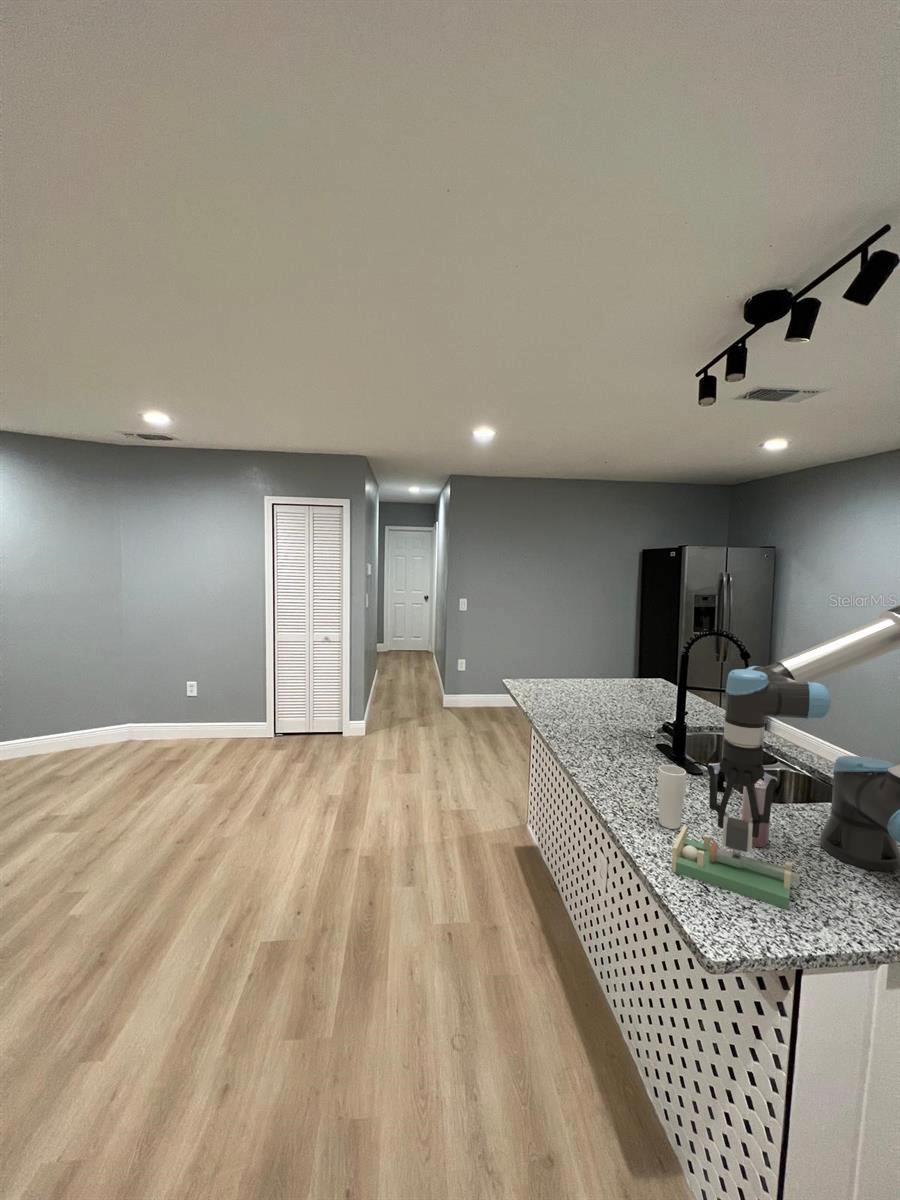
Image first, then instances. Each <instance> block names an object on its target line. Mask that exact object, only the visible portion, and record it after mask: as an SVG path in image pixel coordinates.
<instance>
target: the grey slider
mask: <svg viewBox="0 0 900 1200" xmlns="http://www.w3.org/2000/svg"><path fill="white" fill-rule="evenodd" d="M748 825H749V822H747V821H743V820H742V819H738V818H735V817H730V816H729V819H728V823H727V831H726V846H725V847H727V848H730V849H732V851H730V850H729V851H728V850H725V849H722V848H720V849H719V848H718V847H719V846H718V845H719V842H718V841H714V840H713V841H712V842H711V844H710V846H711V848H710V856H709V861H711V862H715V861H719V862H722V863H725V864H728V865H732V866H735V867H738V868H741V866H742V867H745V868H748V869H751V870H755V871H758V872H761V873H765V874H768V875H771V876H774V877H778V878H781V879H784V874H785V870H784V869H780V868H777V867H774V866H770V865H767V864H763V863H760V862H757V861H753V860H750V859H747V858H743V857H742V855H743V854H742V852H743V853H748V852H747V842H748ZM790 883H793V884H800V873H797V872H794V871H791V882H790Z"/></svg>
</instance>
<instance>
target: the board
mask: <svg viewBox="0 0 900 1200" xmlns="http://www.w3.org/2000/svg"><path fill="white" fill-rule="evenodd" d="M687 835H688V826H687V825H683V826H682V828H681V830H680V832H679V834H678V836H677V838H676V840H675V842H674V844H673V846H672V855H671V872H673V873H675V874H680V875H682V876H686V877H688V878H692V879H695V880H698V881H700V882H703V883H706V884H709V885H712V886H715V887H717V888H721V889H725V890H727V891H731V892H734V893H737V894H739V895H743V896H745V897H749V898H751V899H753V900H754V899H755V900H757V901H759V902H760V901H761V902H763V903H767V904H769V905H773V906H775V907H778V908H780V909H781V908H782V909H785V910H788V911H789V909H790V908H789V907H790V906H789V905H790V895H791V883H792V882H791V872H792V865H793V863H792V862H789V861H785V865H784V866H785V867H784V866H780V865H776V864H773V863H772V862H771V863H769V862H767V861H763V860H760V859H757V858H753V857H750V856H746V855H743V854H741V855H742V857H743V858H747V859H750V860H753V861H757V862H760V863H763V864H767V865H770V866H774V867H777V868H780V869H784V870H785V874H784V879H781V878H778V877H774V876H771V875H768V874H765V873H761V872H758V871H755V870H751V869H748V868H745V867H742V866H741V868H738V867H735V866H732V865H728V864H725V863H722V862H719V861H715V862H711V861H709V856H710V848H711V839H712V838H711V837H712V836H711V835H709V834H707V833H704V836H703V843H702V842H699V841H696V840H691V839H689V838H688V837H687ZM688 845H690V846H693V847H695V848H696V849H697V850H698V857H697V861H696V862H693V861H690V860H686V859H685V858H684V857H683V854H682V850H683V848H684V847H685V846H688ZM719 849H721V848H719Z"/></svg>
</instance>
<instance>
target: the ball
mask: <svg viewBox="0 0 900 1200" xmlns="http://www.w3.org/2000/svg"><path fill="white" fill-rule="evenodd" d="M682 854H683V857H684V858H685V859H686V860H690V861H693V862H696V861H697V857H698V850H697V849H696V848H695V847H693V846H690V845H688V846H685V847H684V848H683V850H682Z"/></svg>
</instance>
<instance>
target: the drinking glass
mask: <svg viewBox="0 0 900 1200" xmlns="http://www.w3.org/2000/svg"><path fill="white" fill-rule="evenodd" d="M657 771H658V772H657V799H658V800H657V801H658V823H659V825H660V826H662V827H664V828H665V829H669V830H678V829H679V828H681V825H682V814H683V807H684V802H685V794H686V786H687V771H686V770H685V769H684V768H683V767H680V766H677V765H673V764H662V765H659V766H658V769H657Z"/></svg>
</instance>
